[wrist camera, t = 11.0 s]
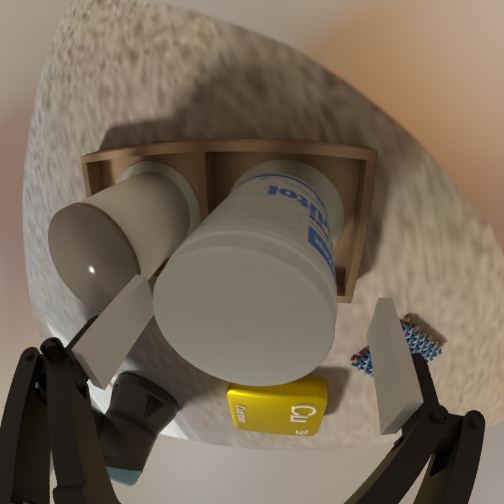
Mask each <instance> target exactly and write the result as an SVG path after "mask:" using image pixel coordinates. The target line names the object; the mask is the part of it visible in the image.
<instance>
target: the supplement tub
mask: <svg viewBox="0 0 504 504" xmlns="http://www.w3.org/2000/svg"><path fill="white" fill-rule="evenodd" d="M152 305H153V312H154V316H155V319H156V322H157V325H158V327H159V329H160V331H161V332H162V334H163V336H164V337H165V339H166V340H167V341H168V343H169V344H170V345H171V346H172V348H173V349H174V350H175V351H176V352H177V353H178V354H179V355H180V356H182V357H183V358H184V359H185V360H187V361H188V362H189V363H191V364H192V365H194V366H195V367H197V368H198V369H200V370H202V371H204V372H206V373H208V374H210V375H212V376H215V377H217V378H220V379H223V380H226V381H229V382H232V383H237V384H243V385H250V386H271V385H279V384H284V383H288V382H291V381H294V380H296V379H299V378H301V377H303V376H305V375H307V374H309V373H310V372H312V371H313V370H314V369H316V368H317V367H318V366H319V365H320V364H321V363H322V362H323V361H324V360H325V358H326V357H327V355H328V353H329V351H330V349H331V347H332V344H333V340H334V335H335V323H336V317H337V285H336V275H335V265H334V256H333V247H332V239H331V231H330V224H329V218H328V213H327V209H326V207H325V204H324V202H323V200H322V198H321V197H320V195H319V194H318V193H317V192H316V190H315V189H314V188H313V187H312V186H310V185H309V184H308V183H306V182H305V181H303V180H302V179H300V178H297V177H295V176H292V175H289V174H284V173H277V172H270V173H263V174H259V175H256V176H253V177H251V178H249V179H247V180H246V181H244V182H243V183H242V184H240V185H239V186H238V187H237V188H236V189H235V190H234V191H233V192H232V193H231V194H230V195H229V196H228V197H227V198H226V199H225V200H224V201H223V202H222V203H221V204H220V205H219V206H218V207H217V208H216V209H215V210H214V211H213V212H212V213H211V214H210V215H209V216H208V217H207V218H206V219H205V220H204V221H203V222H202V223H201V224H200V225H199V226H198V227H197V228H196V229H195V230H194V231H193V232H192V234H191V235H190V236H189V237H188V238H187V239H186V240H185V241H184V242H183V243H182V245H181V246H180V247H179V248H178V249H177V250H176V251H175V252H174V254H173V255H172V256H171V258H170V259H169V261H168V262H167V264H166V267H165V268H164V269H163V271H162V272H161V273H160V275H159V277H158V278H157V281H156V283H155V286H154V290H153V297H152Z"/></svg>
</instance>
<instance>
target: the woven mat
mask: <svg viewBox="0 0 504 504" xmlns="http://www.w3.org/2000/svg"><path fill="white" fill-rule="evenodd" d="M407 322H410V318H404V319H402V320H401V321H400V323H401V326H402V325H403V326H404V327H402V329H403V332H404V335H405V338H406V341H407V344H408V347H409V350H410V353H411V352H412V353H421V355H422V356H423V357H424V358H425V360H426V362H429V361H428V359H430V360H431V361H432V360H433V358H432V357H435V356H437V354H436V353H437V352H438V353H439V354H441V349H440V348H441V346H440V345H441V344H442V343H440V344H439V341H437V340H436V341H433V340H434V339H435V338H434V337H433V338H432V335H427V334H426V333H425V332H423V333H420V332H421V331H422V330H421V329H419V328H420V326H419V325H415V327H414V326H411V325H412V324H413V323H414V321H412V322H411V323H409V324H408V323H407ZM432 341H433V342H432ZM363 356H364V357H363ZM350 362H351V363H352V364H351V365H352V366H357V367H355V368H358V369H357V370H358V371H359V370H361V371H365V374H368V375H371V377H372V376H374V374H373V367H372V361H371V356H370V350H369V346H368V348H366V349H364V351H362V352H361V353H360V354H358V355H356V356H355V357H352V358H351V361H350Z"/></svg>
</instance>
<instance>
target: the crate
mask: <svg viewBox="0 0 504 504" xmlns="http://www.w3.org/2000/svg"><path fill="white" fill-rule="evenodd" d="M376 157H377V151H375V150H373V149H371V148H369V147H363V146H356V145H347V144H338V143H328V142H317V141H303V140H284V139H206V140H187V141H173V142H162V143H152V144H143V145H134V146H127V147H120V148H113V149H107V150H101V151H96V152H93V153H90V154H87V155H83V156H81V163H82V170H83V176H84V183H85V188H86V194H87V198H88V197H90V196H92V195H94V194H96V193H98V192H100V191H102V190H104V189H106V188H108V187H110V186H112V185H114V184H116V183H118V182H121V181H123V180H125V179H127V178H129V177H131V176H134V175H136V174H138V173H141V172H156V173H159V174H162V175H164V176H166V177H168V178H169V179H171V180H172V181H173V182H174V183H175V184H176V185H177V186H178V187H179V188H180V190H181V191H182V192H183V194H184V196H185V198H186V200H187V203H188V206H189V210H190V226H189V230H188V233H187V235H186V237H185V238H184V240H183V241H182V242H181V243H180V244H179V245H178V246H177V248H176V249H175V250H174V251H173V252H172V253H171V254H170V255H169V256H168V258H167V259H166V260H165V261H164V262H163V263H162V264H161V266H160V267H159V268H158V269H157V270H156V271H155V272H154V274H153V275H152V276H151V277H150V278H149V279H148V281H154V282H156V281H157V278H158V277H159V275H160V273H161V272H162V271H163V269H164V268H165V267H166V264H167V262H168V261H169V259H170V258H171V256H172V255H173V254H174V252H175V251H176V250H177V249H178V248H179V247H180V246H181V245H182V243H183V242H184V241H185V240H186V239H187V238H188V237H189V236H190V235H191V234H192V232H193V231H194V230H195V229H196V228H197V227H198V226H199V225H200V224H201V223H202V222H203V221H204V220H205V219H206V218H207V217H208V216H209V215H210V214H211V213H212V212H213V211H214V210H215V209H216V208H217V207H218V206H219V205H220V204H221V203H222V202H223V201H224V200H225V199H226V198H227V197H228V196H229V195H230V194H231V193H232V192H233V191H234V190H235V189H236V188H237V187H238V186H239V185H240V184H242V183H243V182H244V181H246V180H247V179H249V178H251V177H253V176H256V175H259V174H263V173H270V172H277V173H284V174H289V175H292V176H295V177H297V178H300V179H302V180H303V181H305V182H306V183H308V184H309V185H310V186H312V187H313V188H314V189H315V190H316V192H317V193H318V194H319V195H320V197H321V198H322V200H323V202H324V204H325V207H326V209H327V213H328V218H329V224H330V231H331V239H332V247H333V256H334V265H335V275H336V285H337V302H338V303H351V302H352V298H353V294H354V289H355V285H356V281H357V277H358V272H359V267H360V263H361V258H362V253H363V248H364V243H365V237H366V232H367V226H368V220H369V214H370V207H371V200H372V193H373V185H374V176H375V167H376Z"/></svg>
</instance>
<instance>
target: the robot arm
mask: <svg viewBox="0 0 504 504" xmlns="http://www.w3.org/2000/svg"><path fill="white" fill-rule="evenodd" d="M153 315H154V312H153V305H152V295H151V291H150V287H149V283H148V279H147V276H144V275H137V274H136V275H135V276H134V278H133V279H132V280H131V281H130V282H129V283H128V284H127V285H126V286H125V287H124V288H123V290H122V291H121V292H120V293H119V294H118V295H117V296H116V297H115V298H114V300H113V301H112V302H111V303H110V304H109V305H108V306H107V307H106V309H105V310H104V311H103V312H102V313H101V314H100V316H98V315H96V316H94V317H93V318H91V319H90V320H88V322H87V323H86V324H85V325H84V327H82V329H81V330H80V332H78V333H77V335H76V336H75V337H74V338H73V339H72V341H71V342H70V343H69V344H68V345H67V347H66V348H64V346H63V344H62V343H61V341H60V340H59V339H58V338H56V337H52V338H49V339H46V340H45V341H44V342H43V343H42V344H41V346H40V350H41V352H42V353H43V354H40V352H39V351H38V349H37V348H35V347H30V348H27V349H26V350H25V351H23V353H22V355H21V357H20V359H19V363H18V365H17V368H16V371H15V374H14V377H13V380H12V383H11V387H10V390H9V394H8V397H7V401H6V405H5V409H4V413H3V417H2V422H1V426H0V504H50V491H49V490H50V484H49V483H50V480H49V479H50V475H51V473H52V471H53V469H54V470H55V475H56V480H57V487H56V488H54V489H53V499H54V502H55V504H121V503H120V502H119V501H118V499H117V497H116V495H115V492H114V490H113V487H112V484H111V481H110V479H111V480H113V481H116V482H118V483H121V484H124V485H127V486H131V485H134V484H135V483H136V482H137V480H138V478H139V476H140V475H141V473H142V472H143V468H144V466H145V464H146V461H147V459H148V456H149V454H150V452H151V450H152V447H153V445H154V443H155V440H156V438H157V436H158V434H159V433H160V432H161V431H162V430H163V429H164V428H165V427H166V426H167V425H168V424H169V423H170V422H171V421H172V420H173V419H174V418H175V416H176V414H177V411H178V404H177V402H176V401H175V400H174V399H173V398H172V397H171V396H170V395H169V394H168V393H167V392H166V391H164V390H163V389H161V388H160V387H158V386H157V385H155V384H153V383H152V382H150V381H148V380H146V379H144V378H141V377H139V376H136V375H132V374H126V373H124V374H120V375H119V376H118V377H117V379H116V380H115V382H114V385H113V390H112V395H111V401H110V406H109V408H108V410H107V412H106V413H105V414H103V413H102V412H101V411H99V410H98V409H97V408H95V407H94V406H93V405H91V400H90V394H89V387H88V384H87V383H86V382H87V381H88V379H90V381H91V382H92V384H93V385H94V386H96V387H98V388H101V389H103V390H105V389H106V387H107V385H108V384H109V382H110V381H111V379H112V377H113V376H114V374H115V373H116V371H117V370H118V368H119V366H120V365H121V363H122V362H123V360H124V359H125V357H126V356H127V354H128V352H129V351H130V349H131V348H132V346H133V345H134V343H135V342H136V340H137V339H138V337H139V336H140V334H141V333H142V331H143V330H144V328H145V327H146V325H147V324H148V322H149V321H150V320H151V318H152V317H153ZM367 339H368V344H369V350H370V356H371V361H372V367H373V374H374V380H375V387H376V395H377V402H378V411H379V420H380V431H381V435H385V434H395V433H397V432H398V431H399V430H400V429H401V428H402V436H401V437H400V438H399V439H398V440H397V441H396V442H395V443H394V444H395V445H394V446H393V448H392V449H391V451H390V452H389V453H388V454H387V456H386V457H385V458H384V459H383V461H382V462H381V463H380V464H379V466H378V467H377V468H376V469H375V470H374V472H373V473H372V474H371V475H370V476H369V477H368V479H367V480H366V481H365V482H364V483H363V484H362V485H361V486H360V487H359V488H358V490H357V491H356V492H355V493H354V494H353V495H352V496H351V497H350V498H349V499H348V500H347V501H346V502H345V503H344V504H398V503H399V502H400V501H401V499H402V498H403V497H404V495H405V494H406V493H407V492H408V490H409V489H410V487H411V486H412V485H413V483H414V482H415V480H416V479H417V477H418V476H419V474H420V473H421V471H422V470H423V468H424V466H425V465H426V463H427V462H428V460H429V458H430V457H431V459H430V462H429V465H428V468H427V471H426V473H425V476H424V479H423V481H422V484H421V486H420V489H419V491H418V494H417V496H416V499H415V500H414V503H413V504H468V501H469V499H470V495H471V492H472V489H473V485H474V481H475V478H476V474H477V470H478V465H479V461H480V455H481V450H482V444H483V438H484V430H485V419H484V416H483V415H482V414H481V413H480V412H479V411H477V410H471V411H469V412H468V413H467V414H466V415H465V416H460V415H454V414H450V413H448V411H447V409H446V408H445V407H443V406H442V405H440V404H439V402H438V398H437V395H436V391H435V388H434V384H433V381H432V378H431V374H430V371H429V368H428V365H427V362H426V360H425V358H424V357H423V356H422V355H421V353H410V350H409V347H408V344H407V341H406V338H405V335H404V332H403V329H402V326H401V323H400V320H399V317H398V314H397V311H396V309H395V306H394V303H393V301H392V298H379V299H378V302H377V305H376V309H375V312H374V315H373V318H372V321H371V324H370V327H369V330H368V332H367ZM36 382H37V383H36ZM431 455H432V456H431Z"/></svg>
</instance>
